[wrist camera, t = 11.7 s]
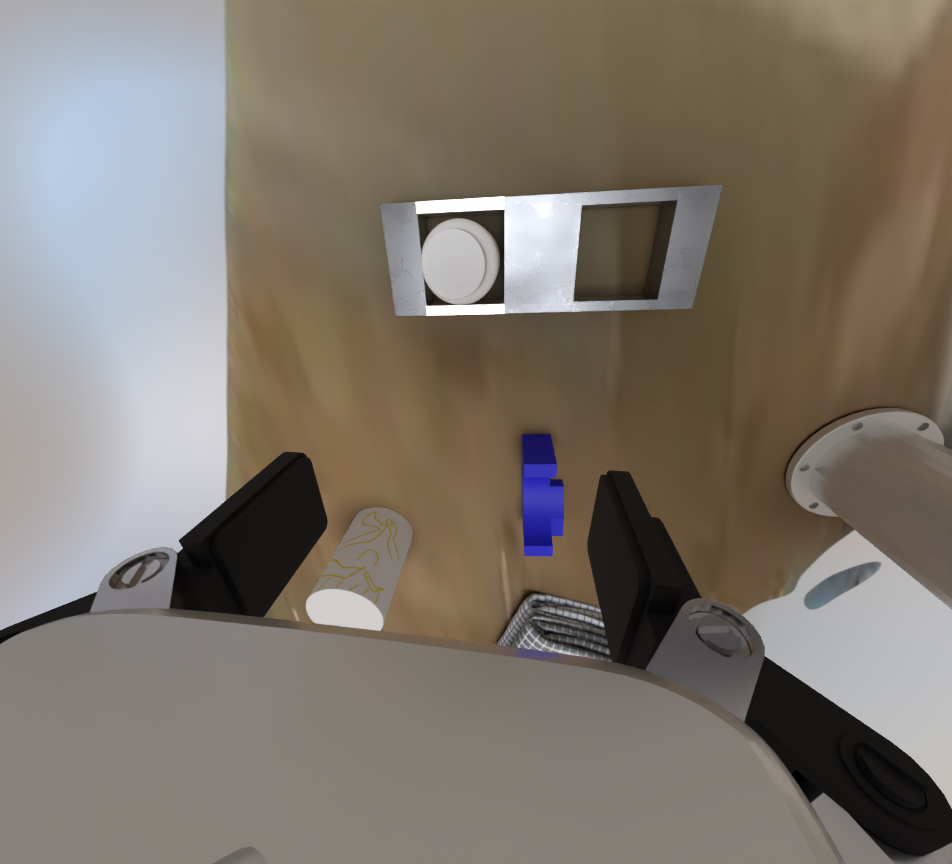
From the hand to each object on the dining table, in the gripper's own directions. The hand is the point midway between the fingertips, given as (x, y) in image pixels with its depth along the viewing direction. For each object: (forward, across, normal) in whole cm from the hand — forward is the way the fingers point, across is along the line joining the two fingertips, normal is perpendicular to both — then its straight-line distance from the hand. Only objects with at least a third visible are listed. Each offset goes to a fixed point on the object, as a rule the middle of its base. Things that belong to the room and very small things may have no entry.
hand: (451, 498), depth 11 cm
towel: (+26, -11, +45) cm, 53 cm away
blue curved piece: (+25, -5, +16) cm, 30 cm away
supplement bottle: (+24, +3, -6) cm, 25 cm away
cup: (+24, +15, +26) cm, 38 cm away
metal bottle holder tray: (+24, -3, -7) cm, 25 cm away
